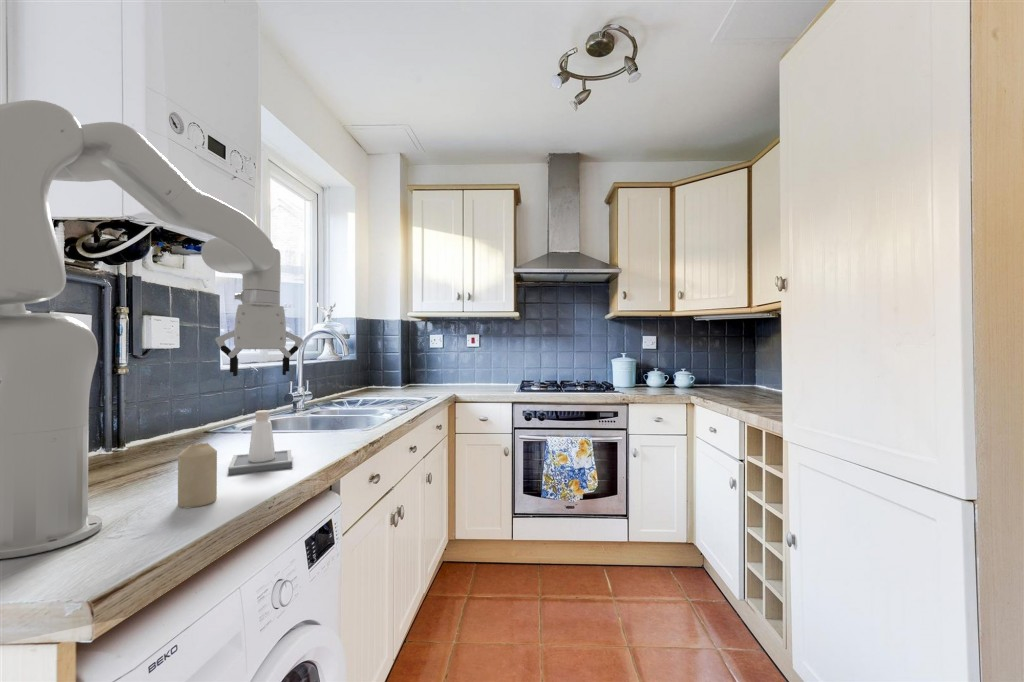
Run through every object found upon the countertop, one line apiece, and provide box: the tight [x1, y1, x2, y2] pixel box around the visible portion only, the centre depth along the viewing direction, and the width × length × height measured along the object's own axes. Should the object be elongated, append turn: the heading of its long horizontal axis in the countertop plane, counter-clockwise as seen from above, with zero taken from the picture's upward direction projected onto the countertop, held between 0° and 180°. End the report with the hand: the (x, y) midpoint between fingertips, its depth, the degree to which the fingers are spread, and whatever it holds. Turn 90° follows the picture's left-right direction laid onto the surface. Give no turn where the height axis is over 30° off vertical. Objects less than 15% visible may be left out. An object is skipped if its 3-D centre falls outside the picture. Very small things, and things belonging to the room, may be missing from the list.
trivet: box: [227, 449, 293, 476], centre depth 102 cm, size 12×12×2 cm
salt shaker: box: [248, 409, 275, 462], centre depth 102 cm, size 5×5×11 cm
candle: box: [177, 442, 218, 509], centre depth 78 cm, size 6×6×10 cm
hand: (260, 375), depth 102 cm, fingers open, 9 cm apart
